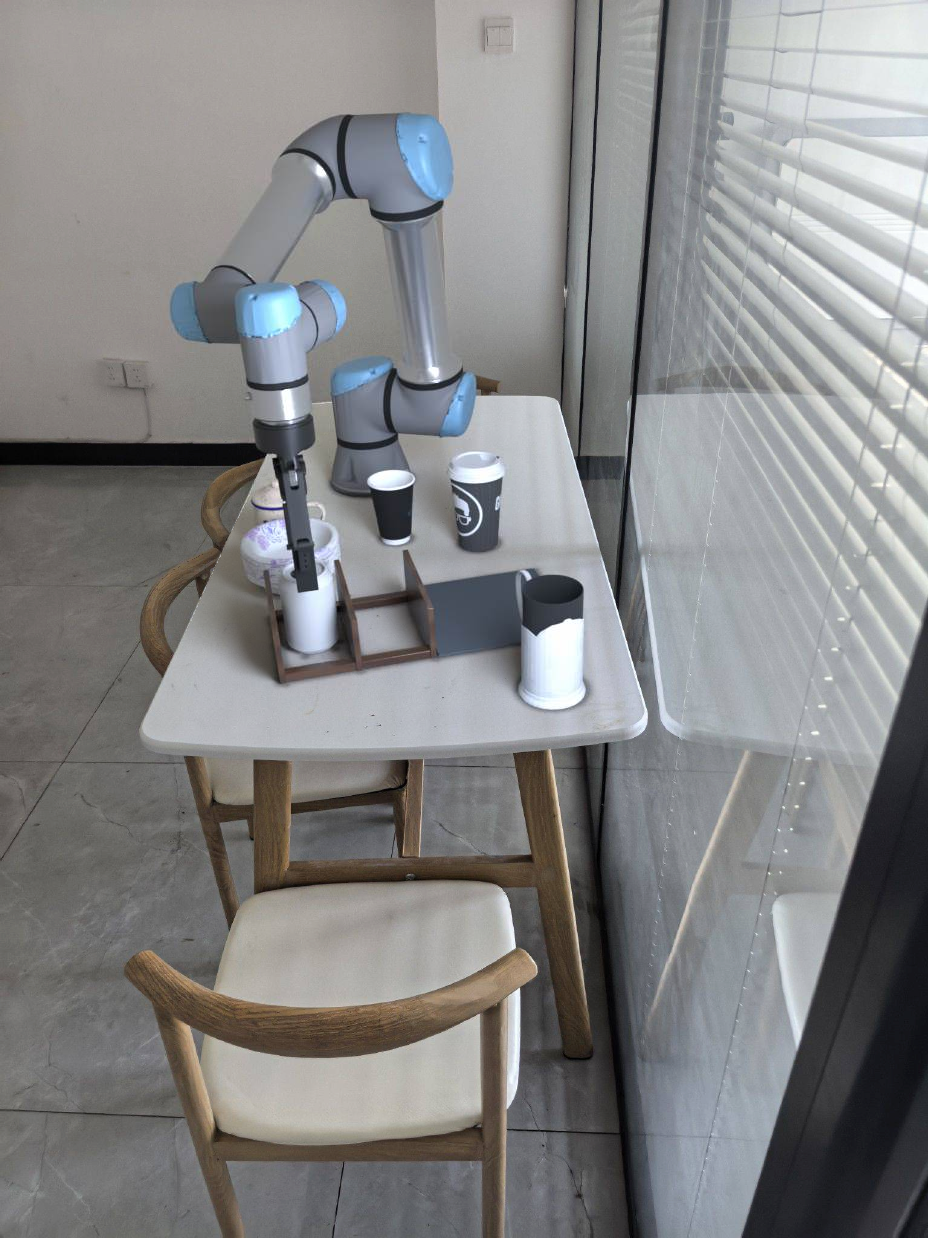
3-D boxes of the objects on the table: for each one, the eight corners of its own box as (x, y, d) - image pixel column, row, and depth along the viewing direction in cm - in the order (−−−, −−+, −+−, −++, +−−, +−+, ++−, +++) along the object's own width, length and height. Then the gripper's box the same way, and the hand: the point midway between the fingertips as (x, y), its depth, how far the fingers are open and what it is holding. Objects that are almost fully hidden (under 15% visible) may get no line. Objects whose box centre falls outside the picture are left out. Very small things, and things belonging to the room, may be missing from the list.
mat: (410, 589, 150) (410, 587, 149) (534, 570, 153) (534, 568, 153) (438, 657, 133) (438, 655, 133) (576, 634, 137) (576, 632, 136)
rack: (270, 617, 144) (262, 570, 140) (411, 595, 148) (407, 549, 144) (280, 684, 129) (272, 633, 125) (436, 657, 133) (433, 607, 129)
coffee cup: (501, 557, 157) (500, 472, 149) (444, 554, 159) (440, 469, 151) (511, 532, 165) (510, 449, 157) (456, 529, 167) (452, 447, 159)
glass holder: (537, 716, 120) (537, 613, 113) (489, 660, 132) (486, 563, 124) (598, 698, 123) (602, 596, 116) (546, 644, 135) (547, 548, 127)
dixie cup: (364, 537, 166) (358, 477, 160) (403, 524, 169) (399, 465, 164) (387, 553, 160) (382, 492, 154) (428, 540, 164) (424, 480, 158)
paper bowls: (290, 616, 144) (283, 569, 140) (227, 586, 153) (219, 541, 148) (363, 576, 153) (359, 531, 149) (300, 550, 162) (294, 507, 158)
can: (282, 636, 139) (270, 562, 133) (331, 624, 141) (322, 551, 135) (295, 662, 133) (283, 586, 127) (347, 649, 136) (338, 574, 129)
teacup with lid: (256, 557, 161) (246, 493, 154) (260, 533, 168) (250, 471, 162) (329, 551, 161) (321, 487, 155) (329, 528, 169) (322, 466, 163)
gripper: (246, 389, 130) (268, 532, 140) (257, 453, 109) (282, 615, 120) (302, 383, 131) (319, 525, 142) (324, 446, 110) (342, 606, 121)
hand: (302, 567), depth 131 cm, fingers open, 13 cm apart
